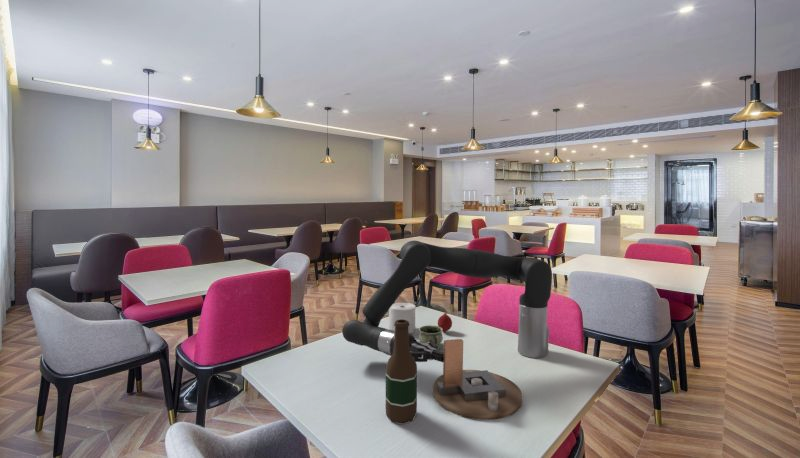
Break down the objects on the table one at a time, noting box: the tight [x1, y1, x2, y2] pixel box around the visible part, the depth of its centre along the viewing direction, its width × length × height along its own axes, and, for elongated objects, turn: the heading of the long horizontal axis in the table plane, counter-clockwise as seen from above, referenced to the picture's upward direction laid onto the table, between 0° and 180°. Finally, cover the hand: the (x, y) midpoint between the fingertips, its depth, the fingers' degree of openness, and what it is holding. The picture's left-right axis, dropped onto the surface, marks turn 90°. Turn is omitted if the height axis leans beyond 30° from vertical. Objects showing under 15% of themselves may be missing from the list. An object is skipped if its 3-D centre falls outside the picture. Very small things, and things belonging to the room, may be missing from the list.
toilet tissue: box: [388, 302, 416, 334], centre depth 156 cm, size 11×12×10 cm
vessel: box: [418, 324, 444, 349], centre depth 140 cm, size 12×9×6 cm
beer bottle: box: [385, 319, 418, 425], centre depth 94 cm, size 8×8×24 cm
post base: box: [432, 369, 523, 421], centre depth 105 cm, size 24×24×6 cm
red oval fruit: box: [437, 312, 453, 333], centre depth 153 cm, size 6×6×8 cm
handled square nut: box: [437, 338, 506, 401], centre depth 104 cm, size 17×11×14 cm
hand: (445, 358), depth 104 cm, fingers closed
